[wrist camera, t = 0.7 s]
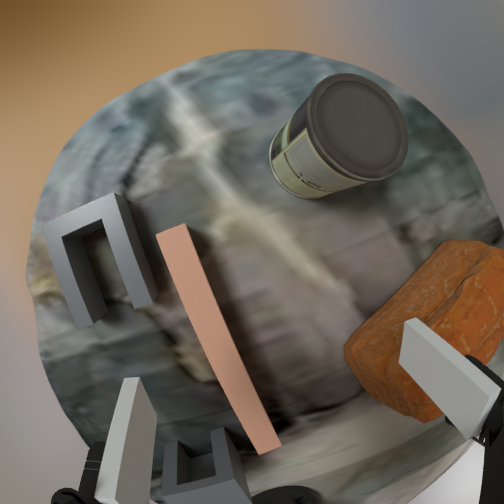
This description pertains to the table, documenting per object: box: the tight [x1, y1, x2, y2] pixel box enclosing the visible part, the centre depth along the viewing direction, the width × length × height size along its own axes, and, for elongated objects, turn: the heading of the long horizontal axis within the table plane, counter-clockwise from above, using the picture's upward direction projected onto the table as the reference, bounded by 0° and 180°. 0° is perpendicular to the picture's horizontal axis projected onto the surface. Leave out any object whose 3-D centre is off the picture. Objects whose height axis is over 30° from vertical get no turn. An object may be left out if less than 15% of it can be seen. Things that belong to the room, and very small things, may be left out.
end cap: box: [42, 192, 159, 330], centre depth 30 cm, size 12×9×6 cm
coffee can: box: [269, 73, 408, 199], centre depth 30 cm, size 10×10×14 cm
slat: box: [156, 223, 282, 455], centre depth 32 cm, size 28×3×7 cm, turn 21°
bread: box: [344, 240, 504, 423], centre depth 34 cm, size 14×27×15 cm, turn 127°
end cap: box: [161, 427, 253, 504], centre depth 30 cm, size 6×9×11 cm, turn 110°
